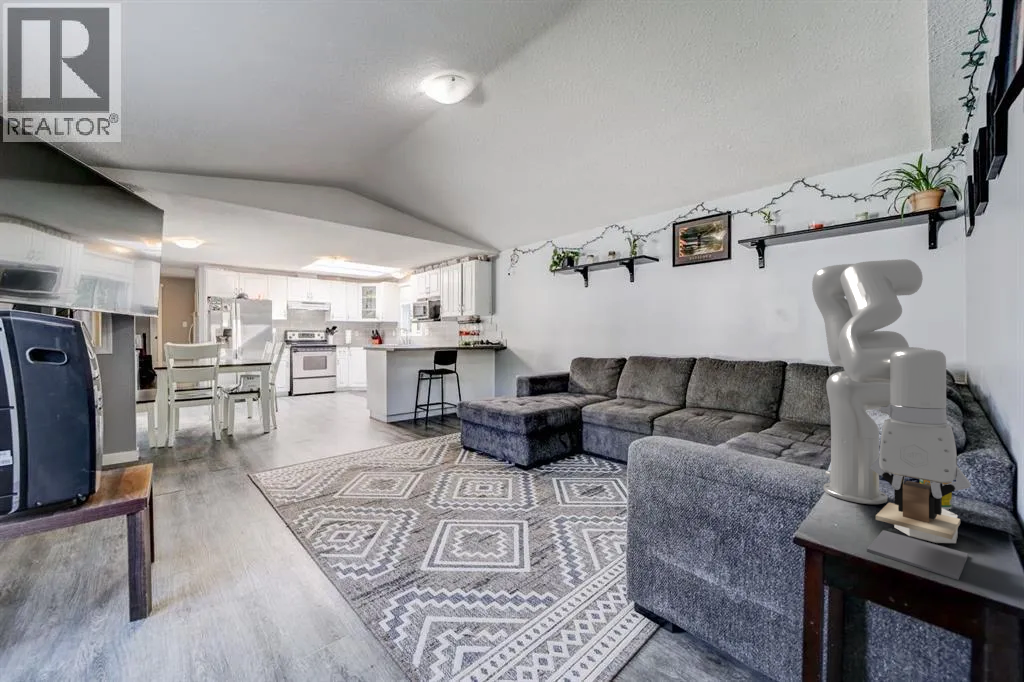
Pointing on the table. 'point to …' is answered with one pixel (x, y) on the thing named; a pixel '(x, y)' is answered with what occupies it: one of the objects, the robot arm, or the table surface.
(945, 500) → the supplement bottle
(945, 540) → the bowl
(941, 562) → the mat
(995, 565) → the table surface
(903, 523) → the lid
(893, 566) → the table surface
